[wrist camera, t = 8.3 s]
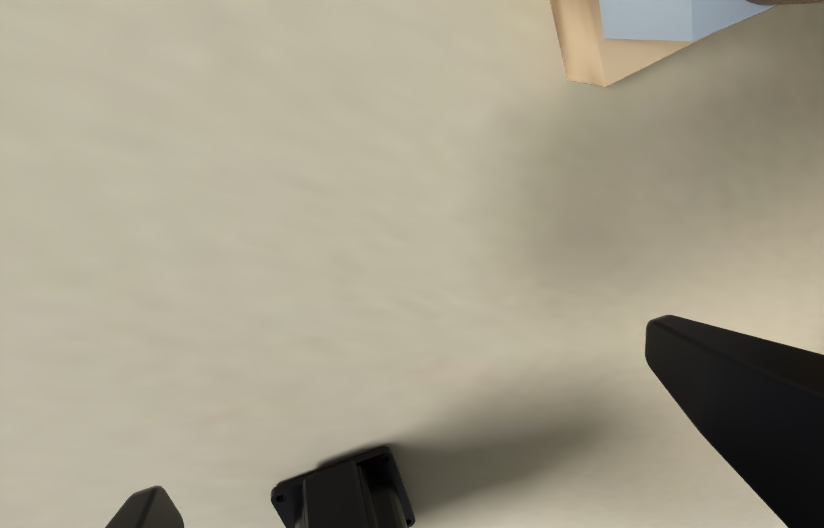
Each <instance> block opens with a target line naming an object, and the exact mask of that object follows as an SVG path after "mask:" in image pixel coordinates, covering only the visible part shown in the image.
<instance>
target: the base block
mask: <svg viewBox="0 0 824 528" xmlns="http://www.w3.org/2000/svg"><path fill="white" fill-rule="evenodd" d="M550 3H551V8H552V12H553V17H554V21H555V26H556V30H557V35H558V39H559V43H560V48H561V52H562V57H563V61H564V66H565V70H566V75H567V79H568V80H571V81H576V82H582V83H587V84H593V85H599V86H604V87H607V86H609V85H611V84H613V83H615V82H617V81H619V80H621V79H623V78H625V77H627V76H629V75H631V74H633V73H635V72H637V71H639V70H641V69H643V68H645V67H647V66H649V65H651V64H653V63H655V62H657V61H659V60H661V59H663V58H665V57H667V56H669V55H671V54H673V53H675V52H677V51H679V50H681V49H683V48H685V47H687V46H689V45H690V44H692V43H694V42H696V41H698V40H700V39H702V38H704V37H706V36H704V37H702V38H700V39H697V40H695V41H665V40H636V39H606V38H604V37H603V29H602V20H601V12H600V4H599V0H550ZM709 35H710V34H709ZM707 36H708V35H707Z"/></svg>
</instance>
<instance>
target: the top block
mask: <svg viewBox="0 0 824 528" xmlns="http://www.w3.org/2000/svg"><path fill="white" fill-rule="evenodd" d="M599 4H600V12H601V20H602V29H603V37H604V38H606V39H636V40H665V41H695V40H697V39H700V38H702V37H704V36H707V35H709V34H712V33H714V32H716V31H719V30H721V29H723V28H726V27H728V26H730V25H733V24H735V23H738V22H740V21H742V20H745V19H747V18H749V17H752V16H754V15H756V14H759V13H761V12H764V11H766V10H768V9H771V8H773V7H775V6H778V5H757V4H754V3H750V2H748V1H746V0H599Z"/></svg>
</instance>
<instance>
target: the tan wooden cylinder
mask: <svg viewBox="0 0 824 528" xmlns="http://www.w3.org/2000/svg"><path fill="white" fill-rule="evenodd" d="M746 1H748V2H750V3H754V4H757V5H785V4H804V3H822V2H824V0H746Z"/></svg>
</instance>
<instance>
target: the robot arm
mask: <svg viewBox="0 0 824 528" xmlns="http://www.w3.org/2000/svg"><path fill="white" fill-rule="evenodd" d="M645 357H646V361H647V363H648V365H649V367H650V368H651V370H652V371H653V372H654V373H655V375H656V376H657V377H658V379H659V380H660V381H661V383H662V384H663V385H664V387H665V388H666V389H667V390H668V392H669V393H670V394H671V396H672V397H673V398H674V400H675V401H676V402H677V403H678V405H679V406H680V407H681V409H682V410H683V411H684V413H685V414H686V415H687V417H688V418H689V419H690V420H691V422H692V423H693V424H694V425H695V427H696V428H697V429H698V430H699V432H700V433H701V434H702V435H703V436H704V437H705V438H706V439H707V441H708V442H709V443H710V444H711V445H712V446H713V447H714V448H715V449H716V450H717V451H718V453H719V454H720V455H721V456H722V457H723V458H724V459H725V460H726V461H727V462H728V463H729V464H730V465H731V467H732V468H733V469H734V470H735V471H736V472H737V473H738V474H739V475H740V476H741V477H742V478H743V479H744V480H745V482H746V483H747V484H748V485H749V486H750V487H751V488H752V489H753V490H754V491H755V492H756V493H757V494H758V496H759V497H760V498H761V499H762V500H763V501H764V502H765V503H766V504H767V505H768V506H769V507H770V508H771V509H772V511H773V512H774V513H775V514H776V515H777V516H778V517H779V518H780V519H781V520H782V521H783V522H784V523H785V525H786V526H787V527H788V528H824V355H822V354H819V353H815V352H811V351H807V350H803V349H799V348H796V347H792V346H788V345H784V344H780V343H777V342H773V341H769V340H765V339H761V338H757V337H754V336H750V335H746V334H742V333H738V332H735V331H731V330H727V329H723V328H719V327H715V326H712V325H708V324H704V323H700V322H696V321H693V320H689V319H685V318H681V317H677V316H674V315H665V316H662V317H659V318H656V319H653V320H650V321H649V322H648V324H647V327H646V343H645ZM384 456H385V457H384ZM382 457H383V458H382ZM279 495H281V496H279ZM271 502H272V504H273V506H274V507H275V509H276V511H277V513H278V514H279V516H280V518H281V520H282V521H283V523H284V525H285V527H286V528H409V527H411V526H412V525H413V524H414V523H415V517H414V513H413V510H412V508H411V505H410V502H409V499H408V496H407V493H406V490H405V487H404V485H403V482H402V479H401V476H400V473H399V470H398V467H397V465H396V462H395V459H394V456H393V453H392V450H391V449H390V448H388V447H382V448H379V449H376V450H373V451H370V452H368V453H365V454H362V455H360V456H357V457H354V458H352V459H349V460H346V461H343V462H341V463H338V464H335V465H333V466H330V467H327V468H325V469H322V470H319V471H316V472H314V473H311V474H308V475H306V476H303V477H300V478H298V479H295V480H292V481H289V482H287V483H284V484H281V485H279V486H276V487H275V488H273V490H272V491H271ZM105 528H184V523H183V519H182V516H181V515H180V513H179V511H178V510H177V508H176V507H175V505H174V503H173V502H172V500H171V499H170V497H169V496H168V494H167V492H166V491H165V490H164V488H162V487H161V486H153V487H150V488H147V489H144V490H141V491H138V492H136V493H134V494H132V495H131V496H130V497H129V498H128V499H127V501H126V502H125V503H124V505H123V506H122V507H121V508H120V510H119V511H118V512H117V513H116V515H115V516H114V517H113V518H112V520H111V521H110V522H109V523H108V525H107V526H106V527H105Z"/></svg>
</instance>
